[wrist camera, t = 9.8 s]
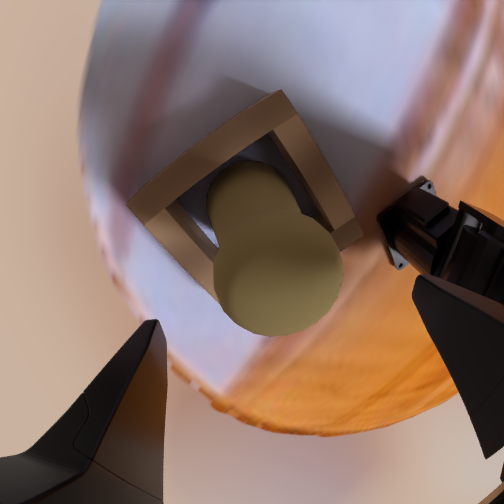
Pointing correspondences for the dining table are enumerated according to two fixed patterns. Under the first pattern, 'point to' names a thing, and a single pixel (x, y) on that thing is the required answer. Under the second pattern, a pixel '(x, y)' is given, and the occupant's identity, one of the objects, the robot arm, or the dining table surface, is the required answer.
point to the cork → (269, 253)
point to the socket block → (219, 151)
